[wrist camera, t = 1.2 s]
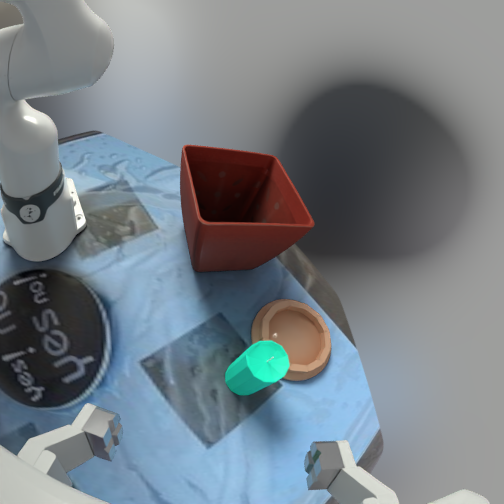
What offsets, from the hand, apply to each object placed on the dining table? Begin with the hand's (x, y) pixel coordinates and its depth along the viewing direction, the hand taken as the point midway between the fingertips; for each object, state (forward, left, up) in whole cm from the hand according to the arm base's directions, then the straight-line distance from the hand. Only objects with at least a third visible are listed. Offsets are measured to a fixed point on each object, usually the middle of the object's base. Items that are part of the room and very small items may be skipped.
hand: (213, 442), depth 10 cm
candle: (-5, +15, -31) cm, 35 cm away
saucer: (-8, +27, -31) cm, 42 cm away
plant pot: (-31, +22, -31) cm, 49 cm away
